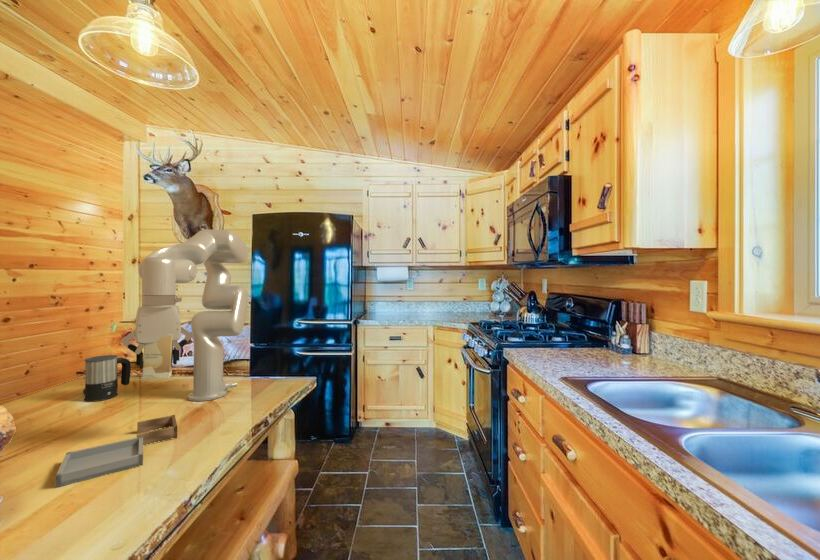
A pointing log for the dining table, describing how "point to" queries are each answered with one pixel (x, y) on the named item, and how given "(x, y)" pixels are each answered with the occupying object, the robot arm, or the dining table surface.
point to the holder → (157, 434)
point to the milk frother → (104, 377)
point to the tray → (100, 461)
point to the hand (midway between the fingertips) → (158, 365)
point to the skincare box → (158, 359)
